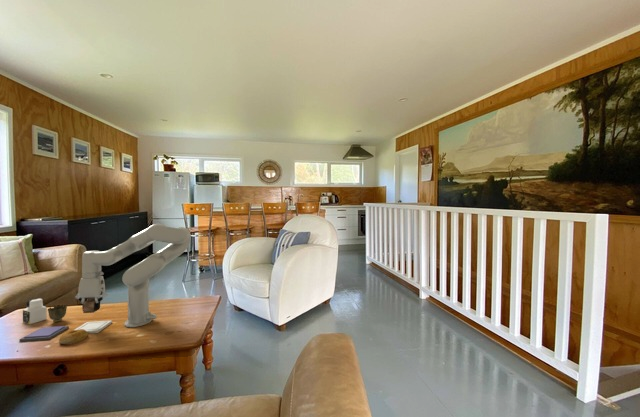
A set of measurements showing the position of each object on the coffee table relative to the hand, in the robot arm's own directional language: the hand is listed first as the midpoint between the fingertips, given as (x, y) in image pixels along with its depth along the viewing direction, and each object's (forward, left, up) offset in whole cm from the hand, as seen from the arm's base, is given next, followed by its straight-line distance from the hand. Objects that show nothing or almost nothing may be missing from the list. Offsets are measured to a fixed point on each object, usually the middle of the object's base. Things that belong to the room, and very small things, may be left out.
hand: (91, 309), depth 138 cm
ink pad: (+18, +4, -10) cm, 21 cm away
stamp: (0, 0, -1) cm, 1 cm away
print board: (0, 0, -10) cm, 10 cm away
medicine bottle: (+37, -15, -10) cm, 41 cm away
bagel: (0, +11, -10) cm, 15 cm away
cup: (+24, -12, -10) cm, 28 cm away
